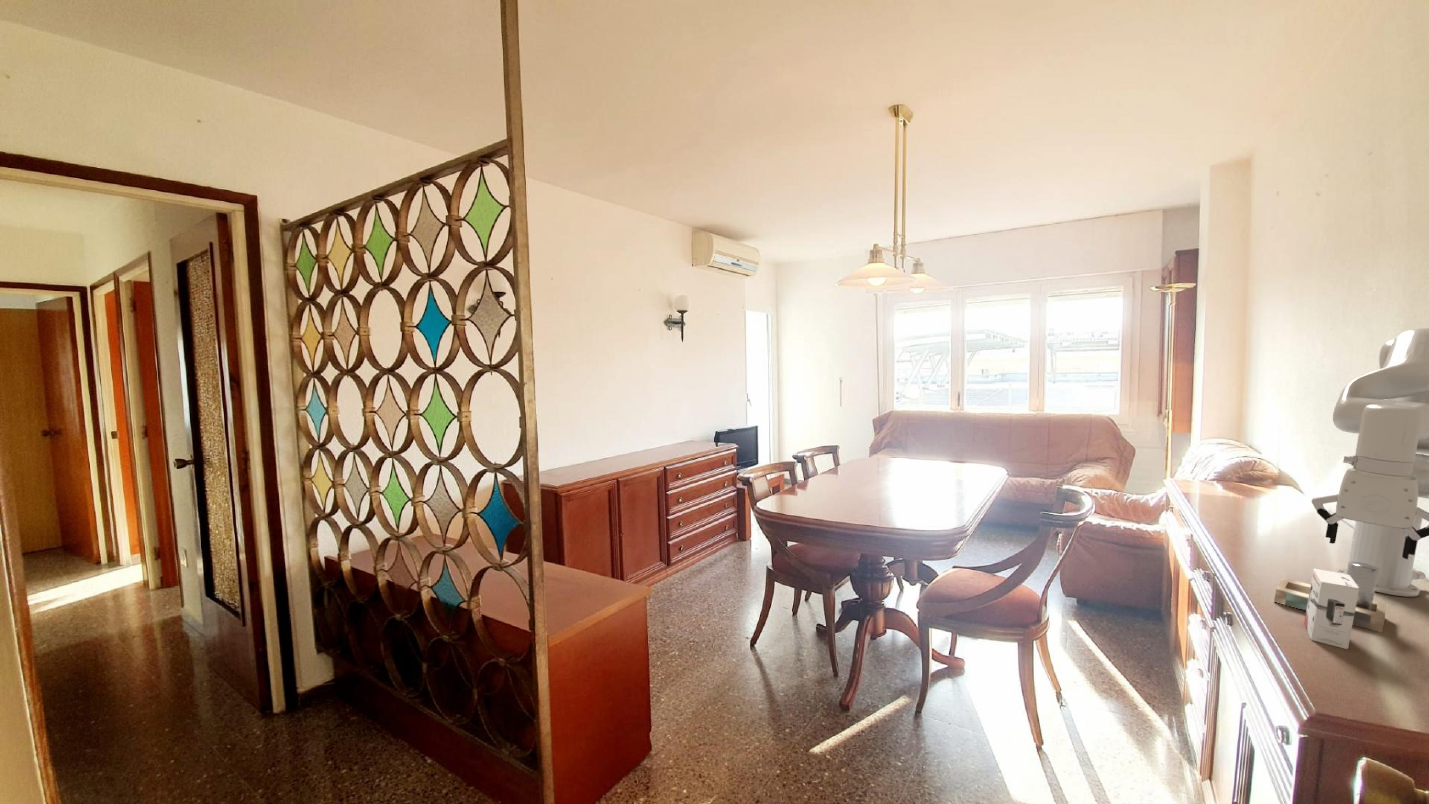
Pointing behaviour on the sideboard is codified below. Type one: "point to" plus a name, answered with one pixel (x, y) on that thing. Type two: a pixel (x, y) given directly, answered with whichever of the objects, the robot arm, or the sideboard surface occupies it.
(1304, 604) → the socket block
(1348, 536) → the sideboard surface
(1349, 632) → the ink box
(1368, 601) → the peg
